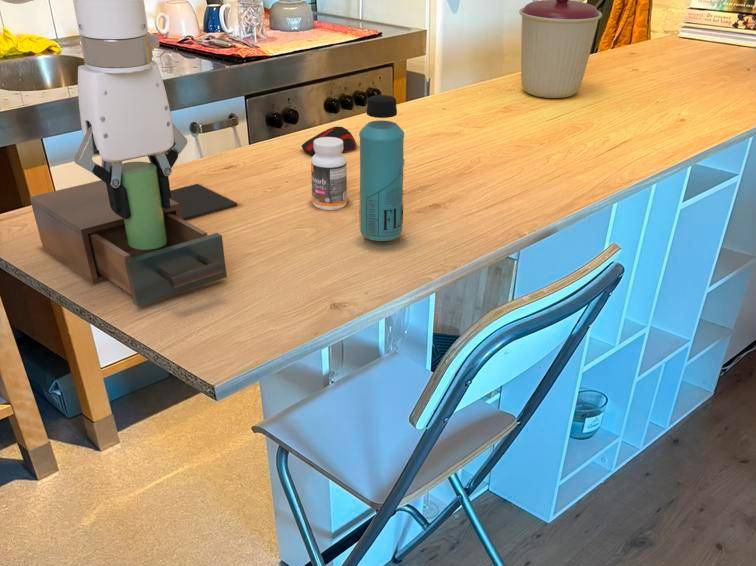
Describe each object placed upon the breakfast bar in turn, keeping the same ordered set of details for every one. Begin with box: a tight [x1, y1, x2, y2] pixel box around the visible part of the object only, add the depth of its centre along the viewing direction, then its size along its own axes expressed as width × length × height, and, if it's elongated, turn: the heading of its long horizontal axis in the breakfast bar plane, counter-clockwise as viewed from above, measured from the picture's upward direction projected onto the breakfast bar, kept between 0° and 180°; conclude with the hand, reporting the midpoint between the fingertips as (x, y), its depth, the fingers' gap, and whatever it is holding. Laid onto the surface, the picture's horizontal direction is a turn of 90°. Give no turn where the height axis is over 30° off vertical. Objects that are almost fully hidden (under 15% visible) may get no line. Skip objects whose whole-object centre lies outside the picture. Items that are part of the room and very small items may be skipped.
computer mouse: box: [300, 126, 357, 157], centre depth 153 cm, size 6×11×4 cm, turn 133°
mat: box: [170, 183, 238, 221], centre depth 132 cm, size 12×12×1 cm
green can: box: [121, 161, 167, 250], centre depth 104 cm, size 5×5×10 cm
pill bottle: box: [310, 137, 348, 211], centre depth 130 cm, size 6×6×10 cm
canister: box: [519, 0, 603, 99], centre depth 183 cm, size 18×18×21 cm
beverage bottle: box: [358, 94, 406, 242], centre depth 115 cm, size 6×7×20 cm
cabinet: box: [29, 179, 182, 285], centre depth 115 cm, size 16×15×8 cm
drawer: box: [88, 212, 228, 307], centre depth 107 cm, size 19×13×6 cm
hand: (142, 209), depth 104 cm, fingers closed on green can, 5 cm apart
